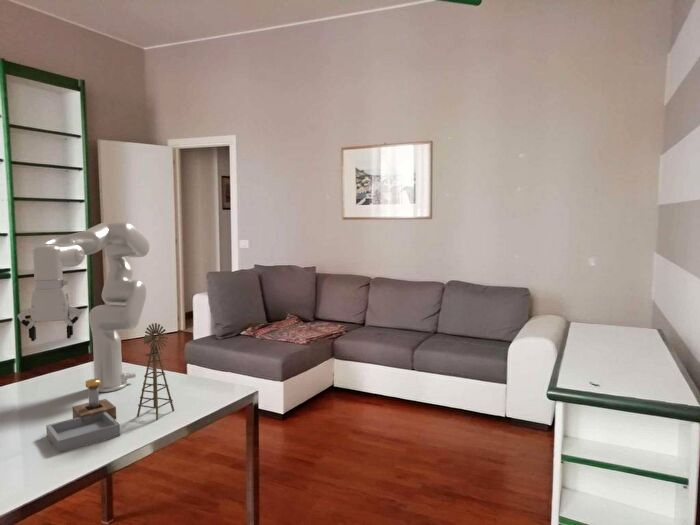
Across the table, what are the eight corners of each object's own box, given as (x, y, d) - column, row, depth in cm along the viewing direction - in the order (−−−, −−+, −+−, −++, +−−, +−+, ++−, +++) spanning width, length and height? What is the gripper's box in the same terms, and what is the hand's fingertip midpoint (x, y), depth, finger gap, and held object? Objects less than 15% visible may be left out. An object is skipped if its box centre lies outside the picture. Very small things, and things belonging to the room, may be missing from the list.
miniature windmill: (175, 410, 161) (173, 322, 158) (158, 420, 153) (155, 327, 150) (153, 407, 164) (151, 320, 161) (135, 416, 156) (132, 325, 153)
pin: (99, 415, 157) (98, 377, 156) (103, 419, 154) (102, 381, 153) (85, 418, 154) (83, 380, 153) (89, 422, 151) (87, 384, 150)
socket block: (106, 410, 161) (105, 398, 161) (116, 419, 154) (115, 407, 153) (72, 418, 154) (72, 406, 154) (81, 428, 147) (81, 415, 147)
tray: (105, 421, 152) (104, 410, 152) (120, 435, 142) (119, 424, 142) (46, 436, 141) (46, 425, 141) (58, 452, 131) (57, 441, 131)
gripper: (82, 282, 157) (84, 334, 158) (19, 284, 150) (22, 338, 152) (78, 285, 150) (81, 339, 151) (12, 287, 143) (15, 344, 145)
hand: (51, 338), depth 151 cm, fingers open, 9 cm apart
